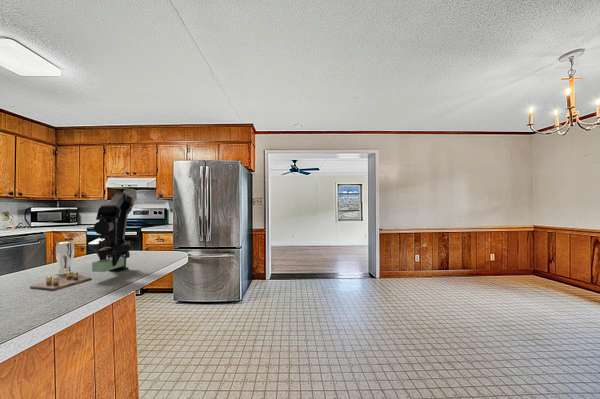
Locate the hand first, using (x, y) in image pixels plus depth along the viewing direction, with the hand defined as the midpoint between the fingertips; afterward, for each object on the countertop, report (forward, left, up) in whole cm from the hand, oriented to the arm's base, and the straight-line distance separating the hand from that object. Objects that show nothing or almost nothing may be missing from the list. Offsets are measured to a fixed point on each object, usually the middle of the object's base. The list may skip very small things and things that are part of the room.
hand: (108, 265), depth 128 cm
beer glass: (-1, -27, -6) cm, 28 cm away
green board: (0, 0, -1) cm, 1 cm away
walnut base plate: (+12, -11, -6) cm, 17 cm away
